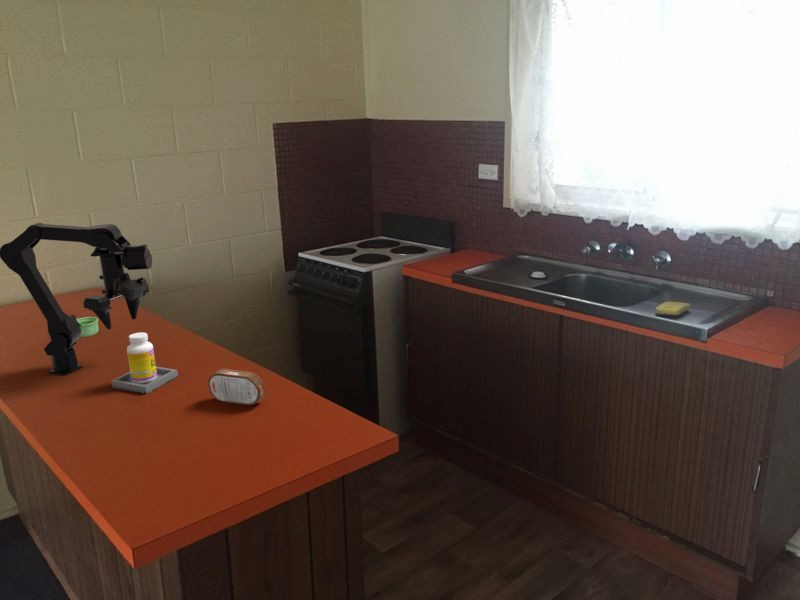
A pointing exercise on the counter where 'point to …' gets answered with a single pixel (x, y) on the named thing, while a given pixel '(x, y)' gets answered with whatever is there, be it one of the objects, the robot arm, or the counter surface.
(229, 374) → the tin
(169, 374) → the tray
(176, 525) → the counter surface
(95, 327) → the ramekin
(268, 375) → the counter surface
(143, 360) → the supplement bottle
